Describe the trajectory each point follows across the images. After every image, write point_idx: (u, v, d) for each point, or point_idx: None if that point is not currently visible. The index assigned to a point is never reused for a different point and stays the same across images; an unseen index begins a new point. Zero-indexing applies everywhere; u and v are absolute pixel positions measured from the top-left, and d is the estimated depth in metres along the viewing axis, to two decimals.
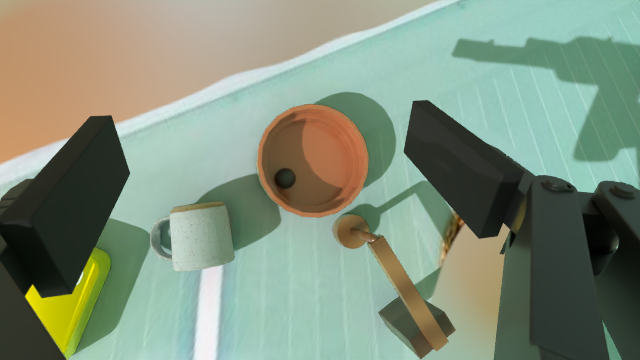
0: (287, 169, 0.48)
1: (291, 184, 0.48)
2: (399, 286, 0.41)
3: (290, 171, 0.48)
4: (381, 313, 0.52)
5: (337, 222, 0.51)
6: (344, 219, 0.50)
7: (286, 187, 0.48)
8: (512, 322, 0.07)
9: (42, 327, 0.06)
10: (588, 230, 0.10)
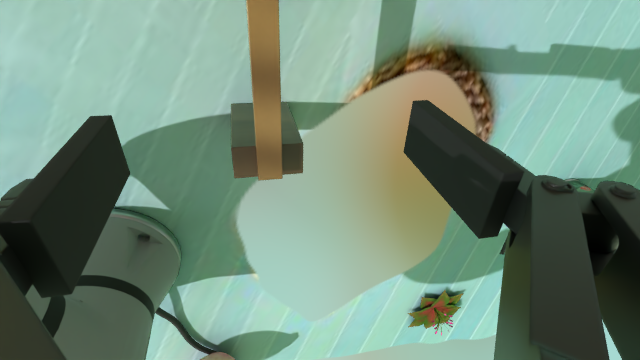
0: None
1: None
2: (255, 61, 0.23)
3: None
4: (233, 106, 0.35)
5: None
6: None
7: None
8: (512, 322, 0.07)
9: (42, 327, 0.06)
10: (588, 230, 0.10)
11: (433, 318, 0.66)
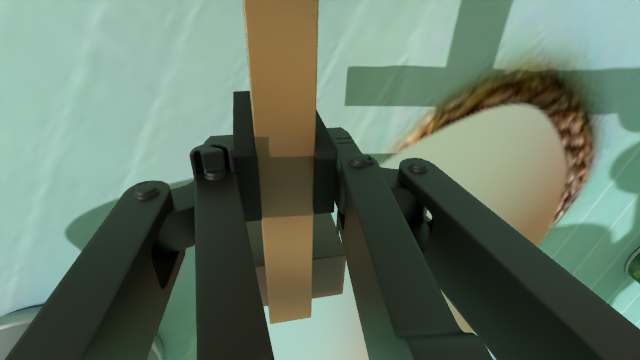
0: None
1: None
2: (265, 143, 0.11)
3: None
4: None
5: None
6: None
7: None
8: (371, 310, 0.08)
9: (251, 252, 0.08)
10: None
11: None
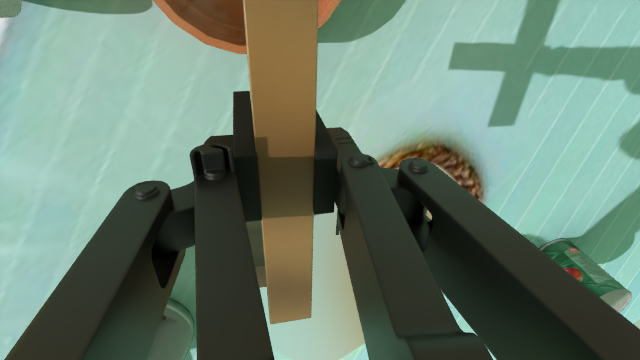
0: None
1: None
2: (265, 143, 0.11)
3: None
4: None
5: None
6: None
7: None
8: (371, 310, 0.08)
9: (250, 252, 0.08)
10: None
11: None
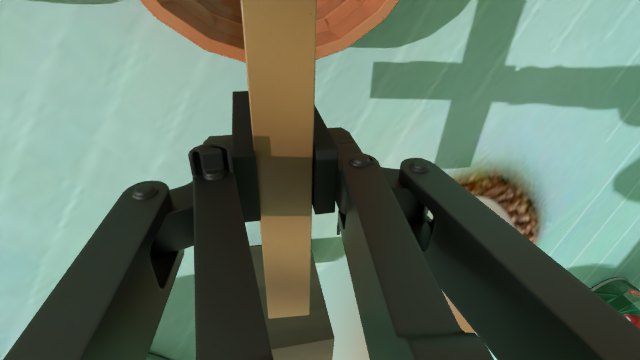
0: None
1: None
2: (263, 141, 0.11)
3: None
4: None
5: None
6: None
7: None
8: (372, 310, 0.08)
9: (250, 252, 0.08)
10: None
11: None
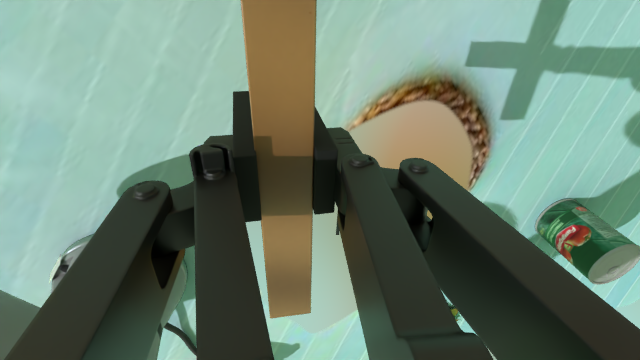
0: None
1: None
2: (264, 141, 0.11)
3: None
4: None
5: None
6: None
7: None
8: (371, 310, 0.08)
9: (250, 252, 0.08)
10: None
11: None
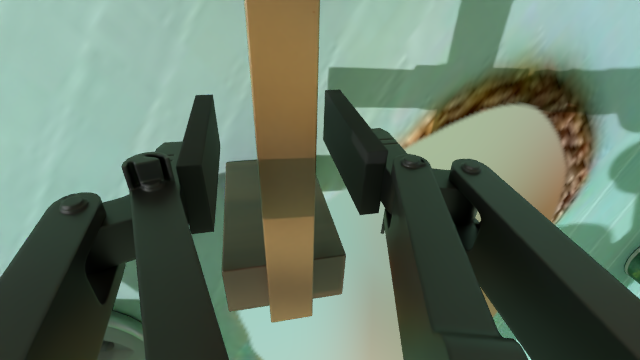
0: None
1: None
2: (267, 141, 0.11)
3: None
4: (229, 167, 0.23)
5: None
6: None
7: None
8: (409, 306, 0.08)
9: (198, 263, 0.07)
10: None
11: None
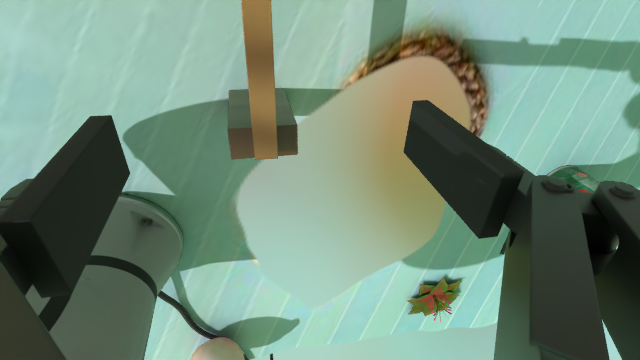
0: None
1: None
2: (249, 41, 0.24)
3: None
4: (231, 92, 0.37)
5: None
6: None
7: None
8: (512, 322, 0.07)
9: (42, 327, 0.06)
10: (588, 230, 0.10)
11: (432, 305, 0.67)
